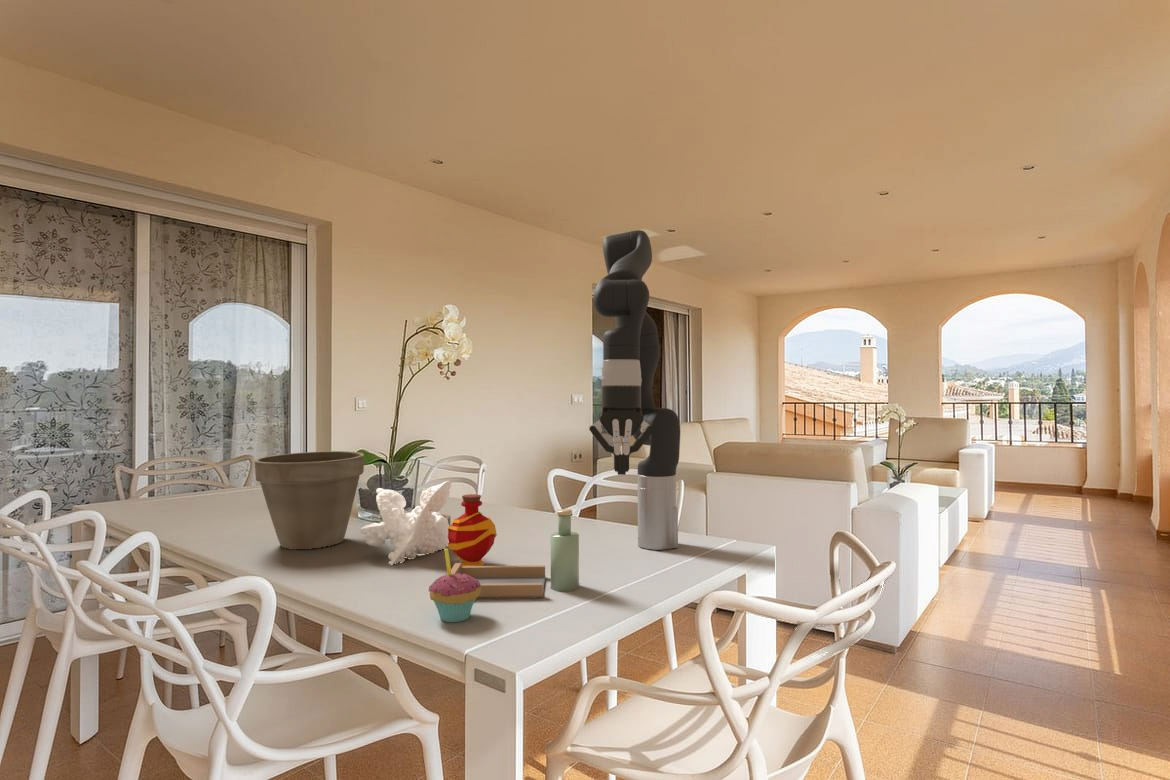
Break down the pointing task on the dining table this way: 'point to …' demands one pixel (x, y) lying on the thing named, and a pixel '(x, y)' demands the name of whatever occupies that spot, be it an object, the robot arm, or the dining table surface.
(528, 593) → the wooden shallow tray
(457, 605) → the cupcake
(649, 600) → the dining table surface
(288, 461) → the plant pot
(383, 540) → the white lumpy branched piece
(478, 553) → the potion bottle
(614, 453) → the robot arm
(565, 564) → the bottle
